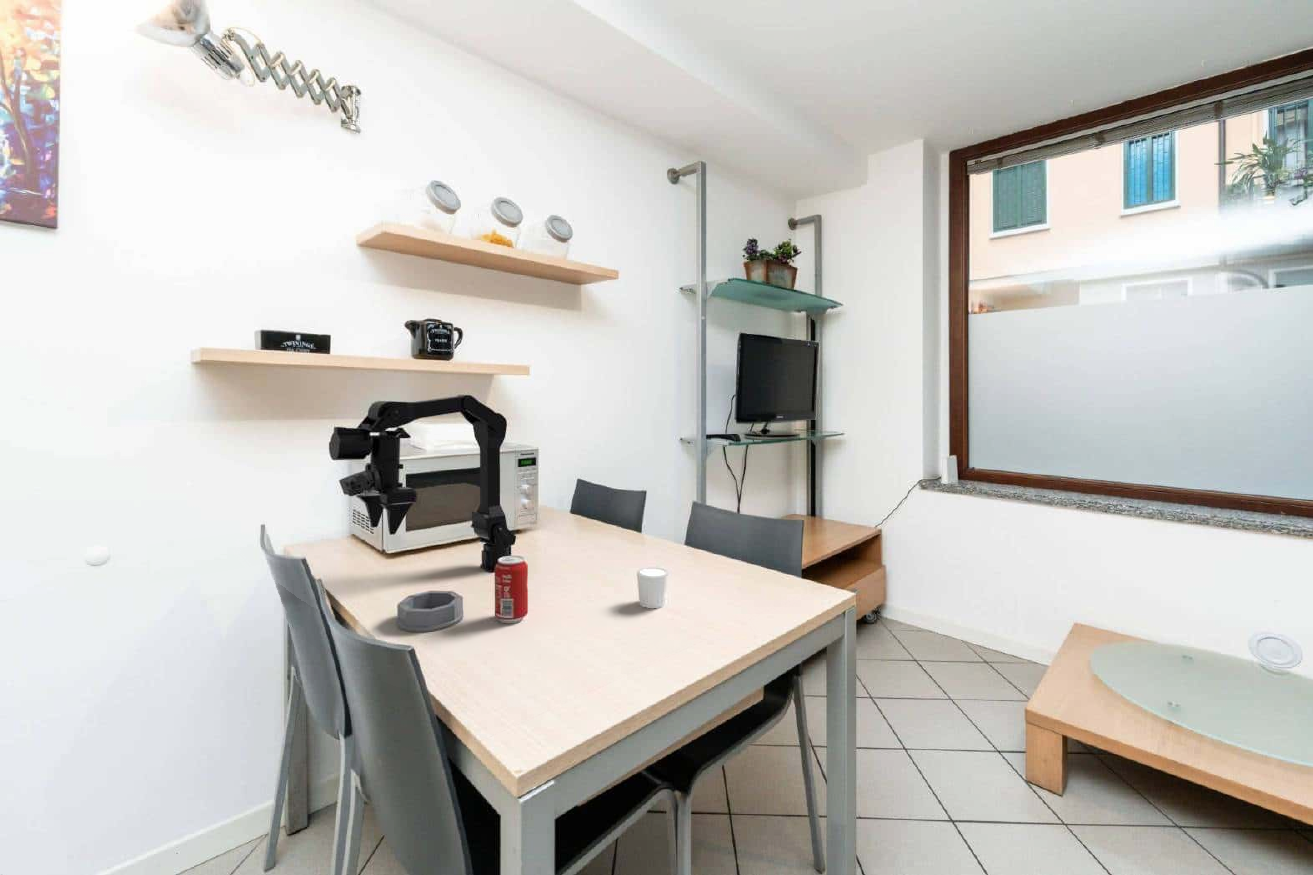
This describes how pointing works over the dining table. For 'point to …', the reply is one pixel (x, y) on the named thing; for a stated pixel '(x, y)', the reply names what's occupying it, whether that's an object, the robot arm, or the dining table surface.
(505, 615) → the beverage can
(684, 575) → the dining table surface
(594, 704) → the dining table surface
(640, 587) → the white cup
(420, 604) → the cup holder
